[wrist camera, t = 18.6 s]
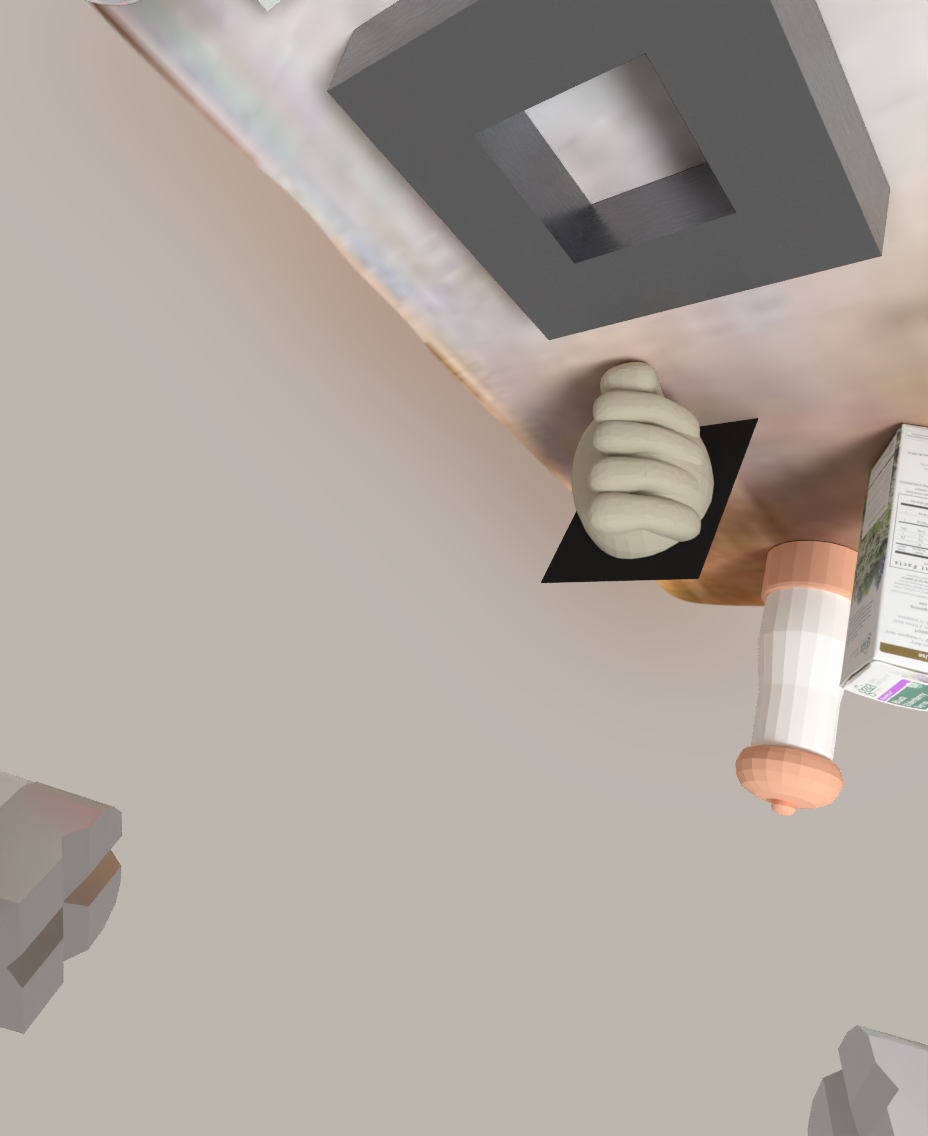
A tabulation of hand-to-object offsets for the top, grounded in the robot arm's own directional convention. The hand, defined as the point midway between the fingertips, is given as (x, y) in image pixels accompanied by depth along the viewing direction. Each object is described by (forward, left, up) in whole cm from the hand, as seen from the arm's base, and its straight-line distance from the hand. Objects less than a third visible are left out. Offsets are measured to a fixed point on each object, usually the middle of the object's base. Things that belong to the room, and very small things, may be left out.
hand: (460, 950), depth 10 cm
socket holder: (+11, -12, -31) cm, 35 cm away
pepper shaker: (+52, -18, -32) cm, 64 cm away
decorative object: (+29, -20, -32) cm, 47 cm away
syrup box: (+39, -7, -32) cm, 51 cm away
